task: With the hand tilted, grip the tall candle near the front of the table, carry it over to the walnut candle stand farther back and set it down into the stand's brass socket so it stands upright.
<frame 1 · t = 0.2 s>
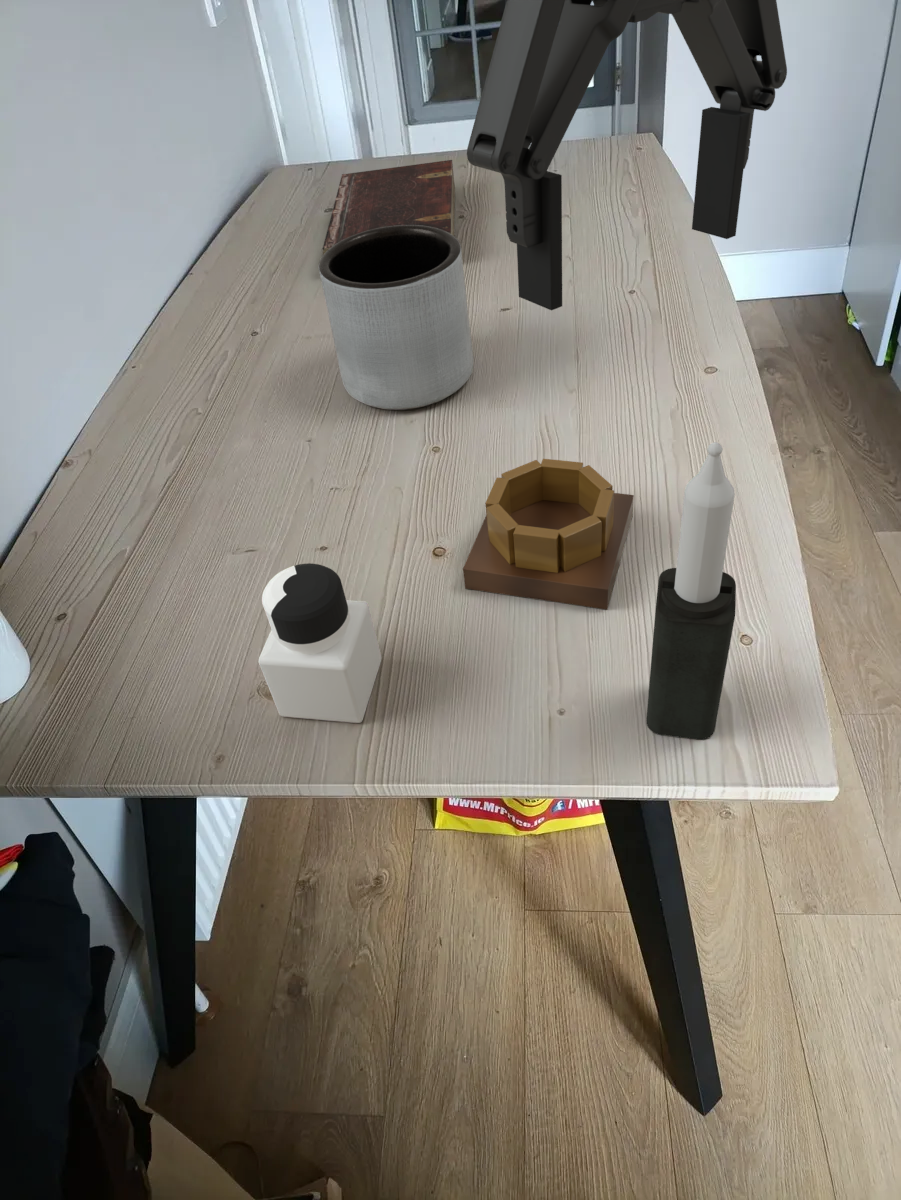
hand: (631, 266, 50), 33 cm above the table, tool pointing down, fingers open, 13 cm apart
medicine bottle: (332, 688, 73), on the table
planter: (409, 380, 107), on the table
hardback book: (395, 233, 138), on the table
candle: (681, 712, 68), on the table
stand: (551, 550, 82), on the table
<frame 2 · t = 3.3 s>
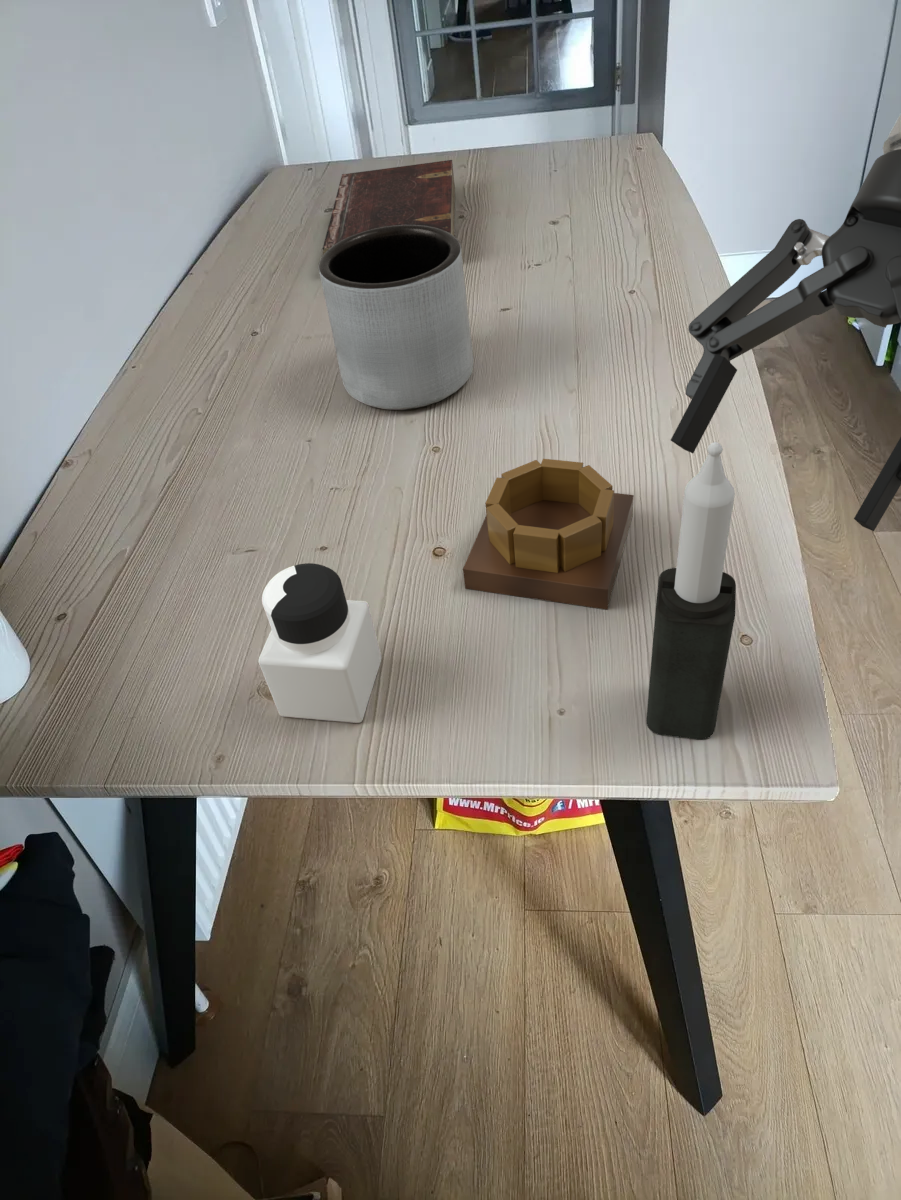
hand: (766, 484, 59), 17 cm above the table, tool tilted 45°, fingers open, 13 cm apart
nothing on the table moved.
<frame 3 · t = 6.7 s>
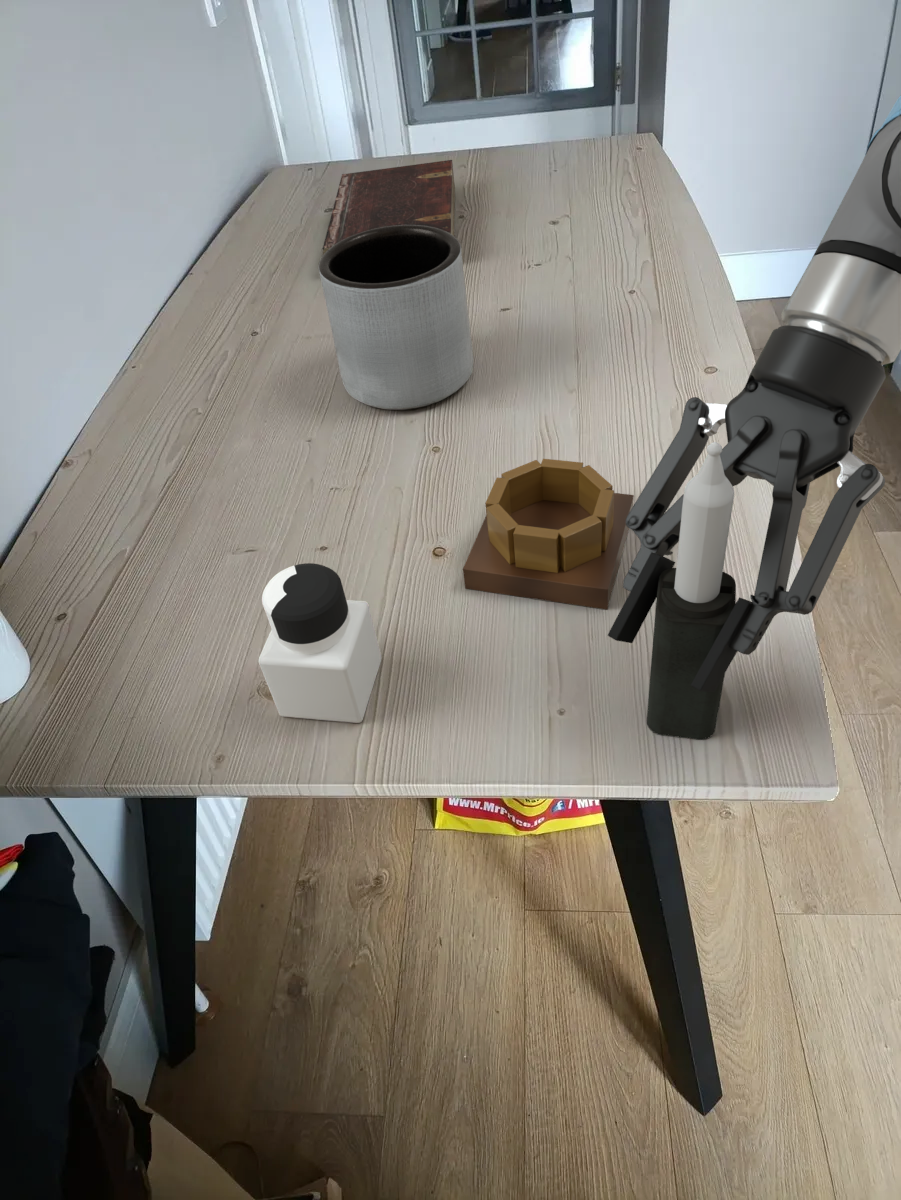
hand: (660, 662, 60), 9 cm above the table, tool tilted 45°, fingers closed on candle, 6 cm apart
candle: (681, 712, 68), on the table, touching gripper
everything else where it was.
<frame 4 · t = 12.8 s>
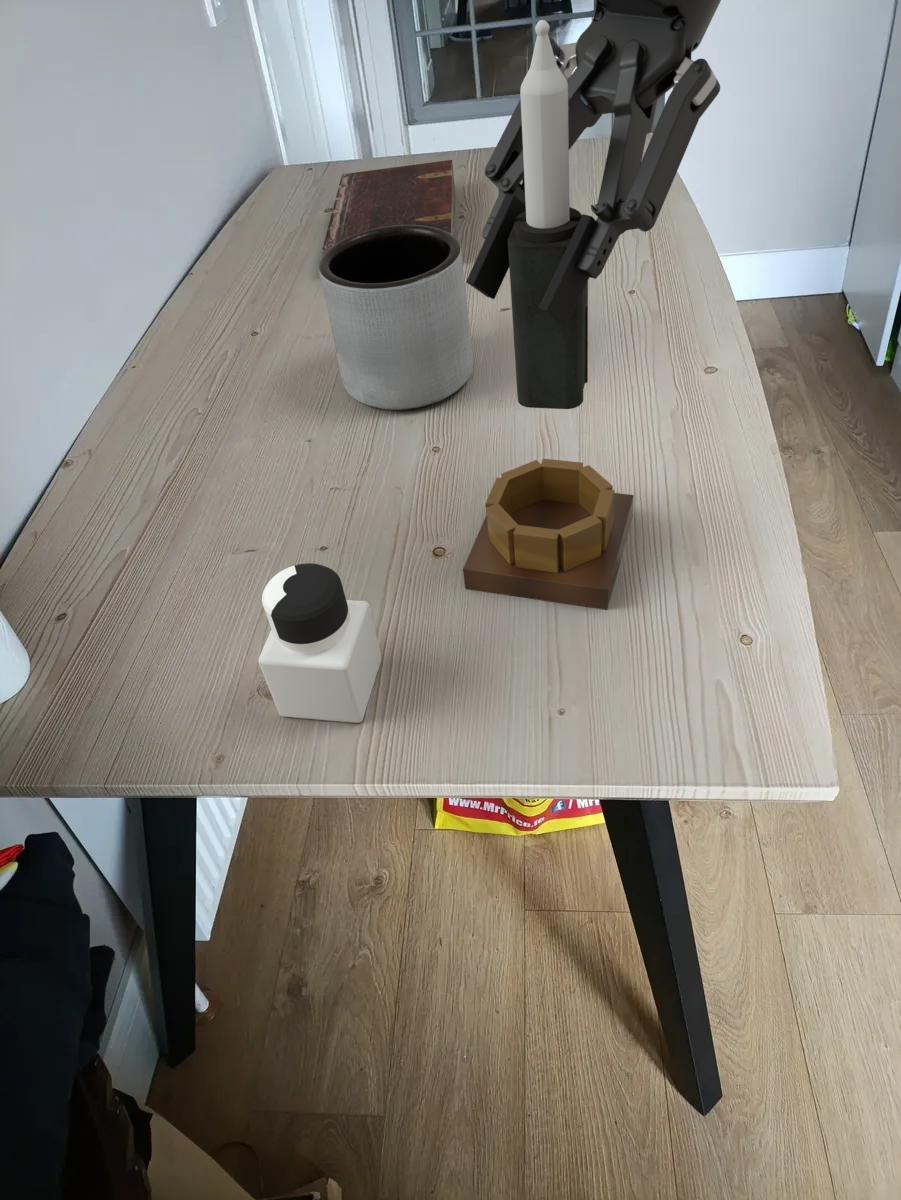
hand: (515, 303, 61), 27 cm above the table, tool tilted 45°, fingers closed on candle, 6 cm apart
candle: (553, 392, 69), point 18 cm above the table, touching gripper
everything else where it was.
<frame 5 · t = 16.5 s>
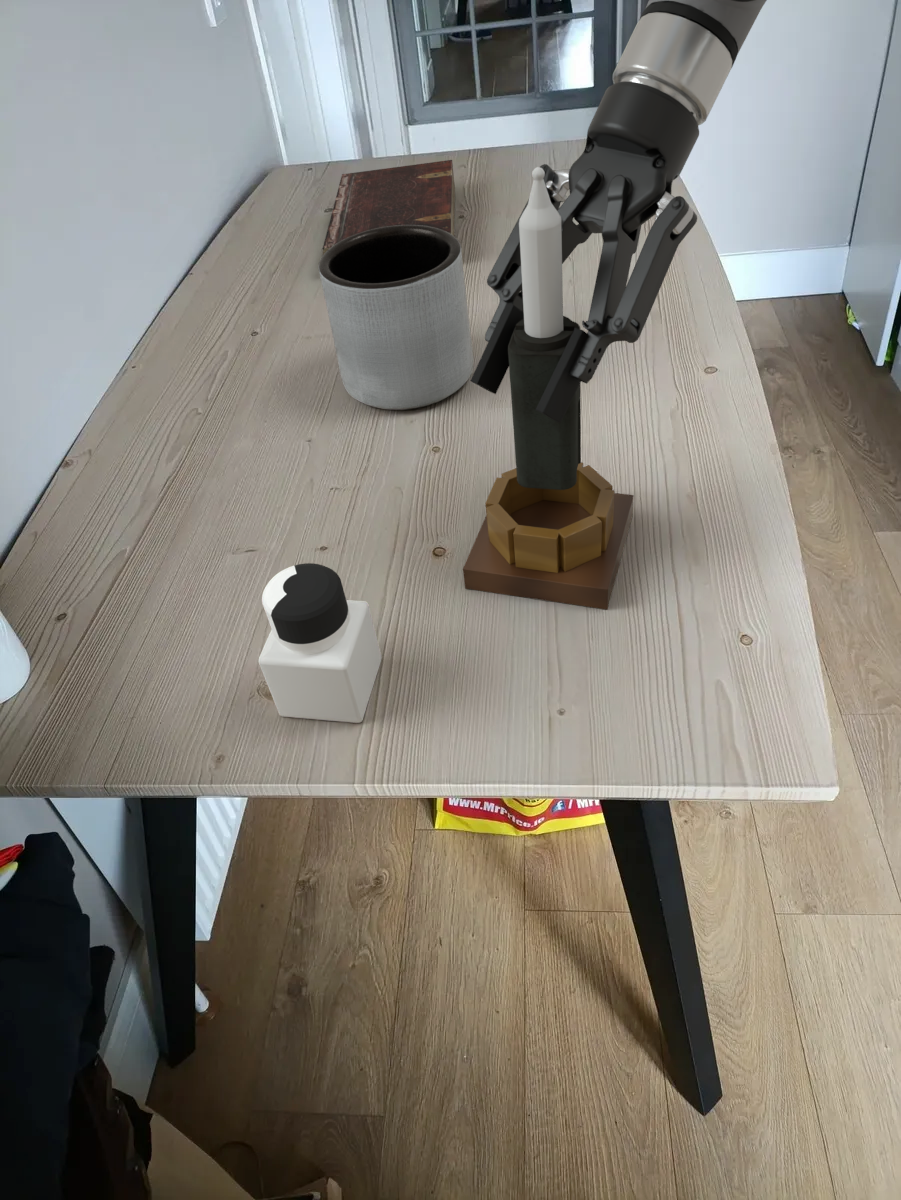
hand: (514, 401, 68), 18 cm above the table, tool tilted 45°, fingers closed on candle, 6 cm apart
candle: (549, 472, 76), point 9 cm above the table, touching gripper
everything else where it was.
when the fingers open (11 cm above the table, at t = 19.2 s): candle stays where it is, resting on stand.
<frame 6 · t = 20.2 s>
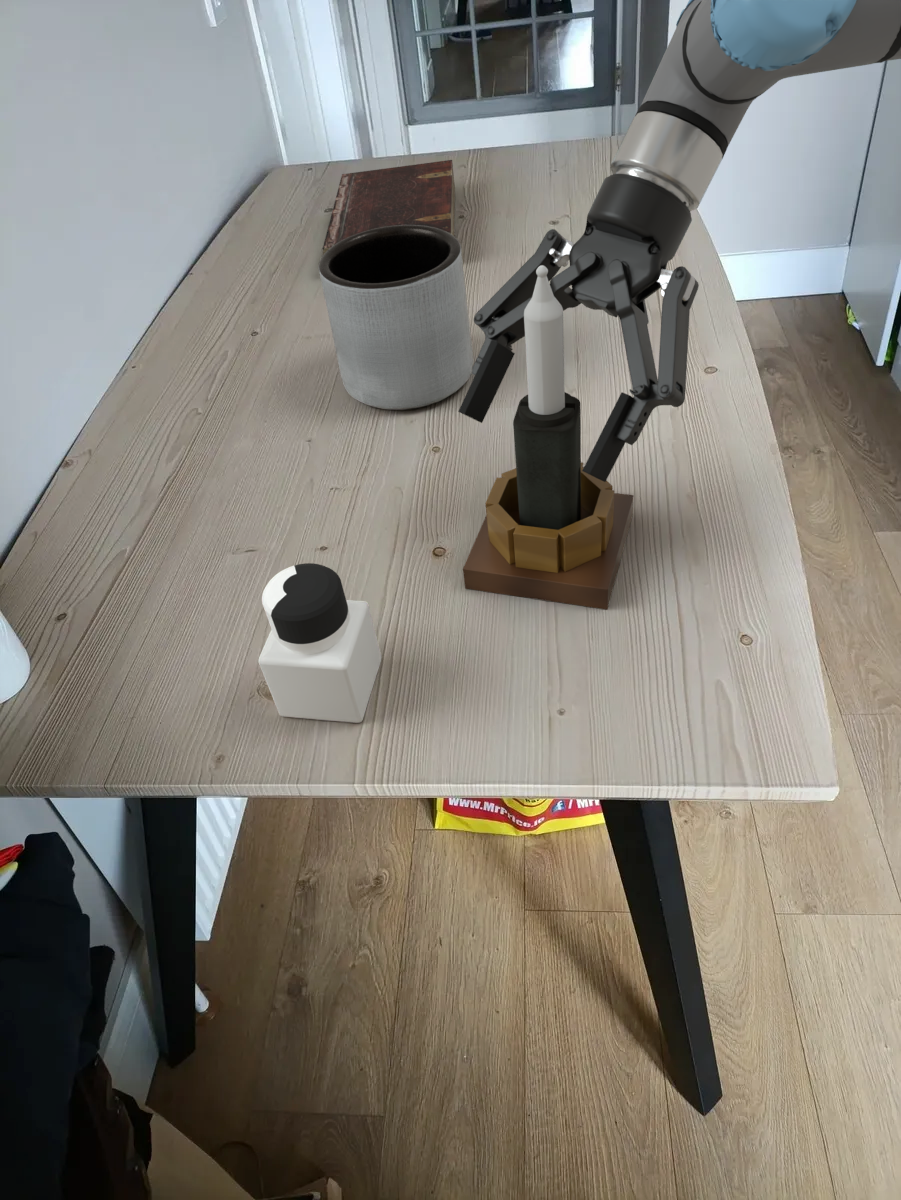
hand: (528, 446, 72), 13 cm above the table, tool tilted 45°, fingers open, 13 cm apart
candle: (551, 531, 81), point 2 cm above the table, touching stand
everything else where it was.
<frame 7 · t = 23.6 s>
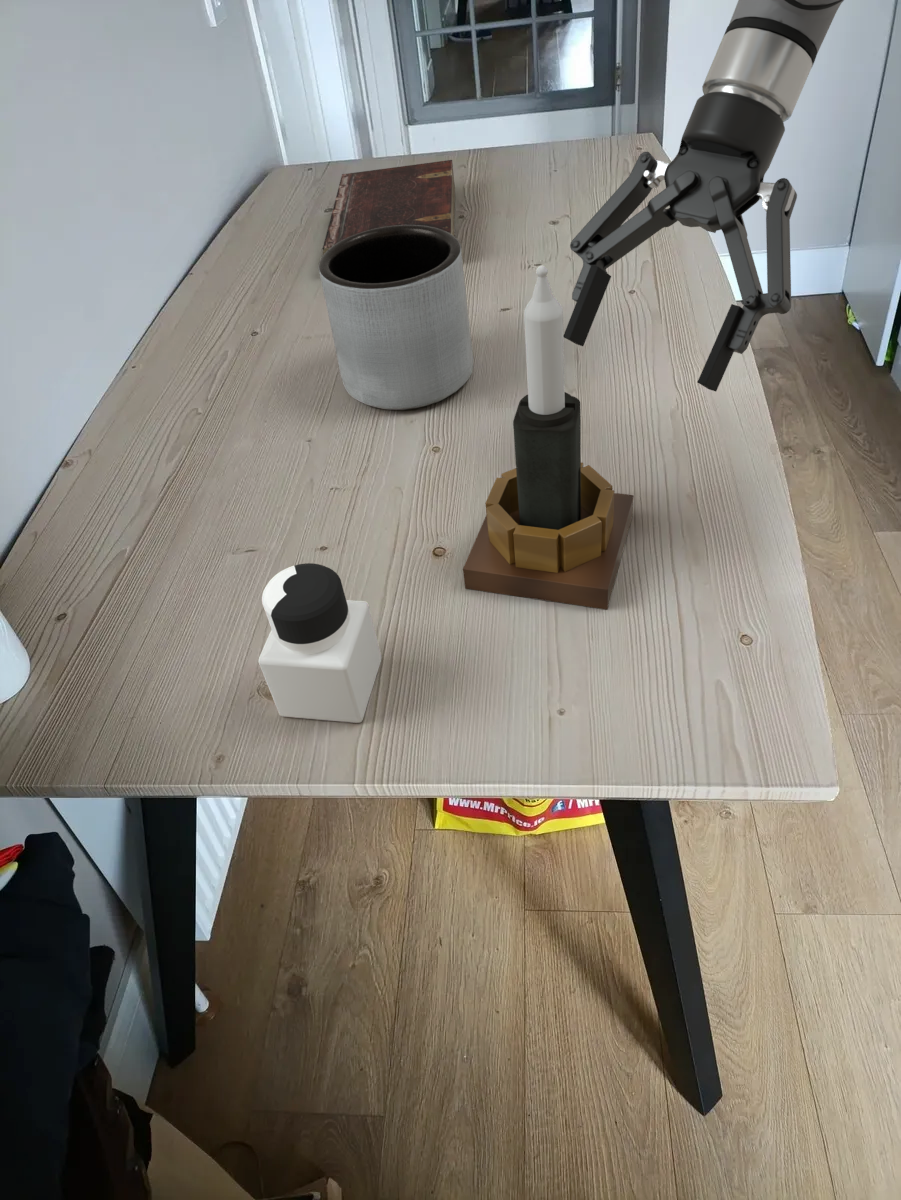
hand: (636, 363, 76), 15 cm above the table, tool tilted 40°, fingers open, 13 cm apart
nothing on the table moved.
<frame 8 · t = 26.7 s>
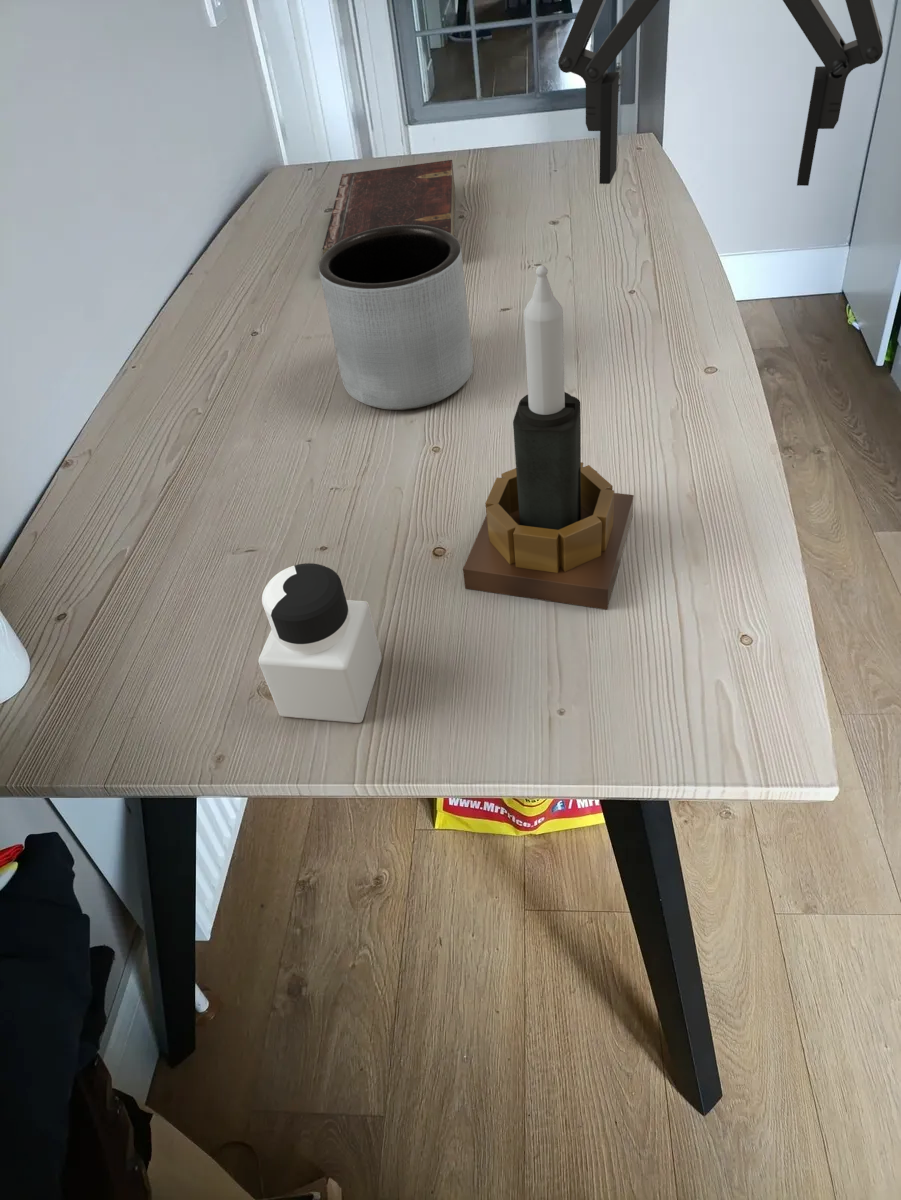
hand: (702, 178, 63), 31 cm above the table, tool pointing down, fingers open, 13 cm apart
nothing on the table moved.
at the end: candle 0.1 cm off-centre on the stand, point 2.3 cm above the stand's base; candle tilted 0°; the gripper is holding nothing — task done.
